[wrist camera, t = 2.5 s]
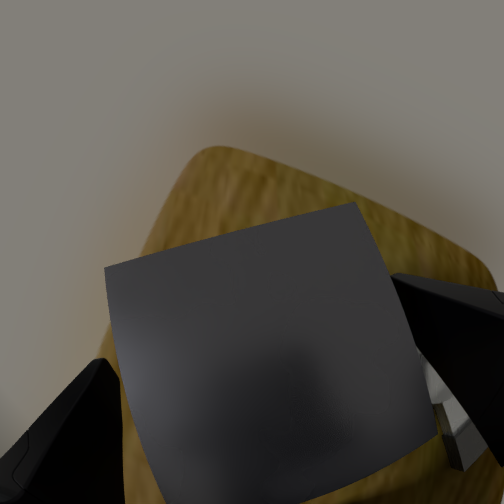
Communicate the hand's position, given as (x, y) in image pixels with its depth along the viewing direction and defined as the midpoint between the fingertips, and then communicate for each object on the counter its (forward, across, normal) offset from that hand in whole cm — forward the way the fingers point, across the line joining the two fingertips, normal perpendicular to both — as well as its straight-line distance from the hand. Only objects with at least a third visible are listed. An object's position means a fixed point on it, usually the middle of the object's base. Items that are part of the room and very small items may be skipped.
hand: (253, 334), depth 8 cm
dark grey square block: (+5, 0, +6) cm, 8 cm away
